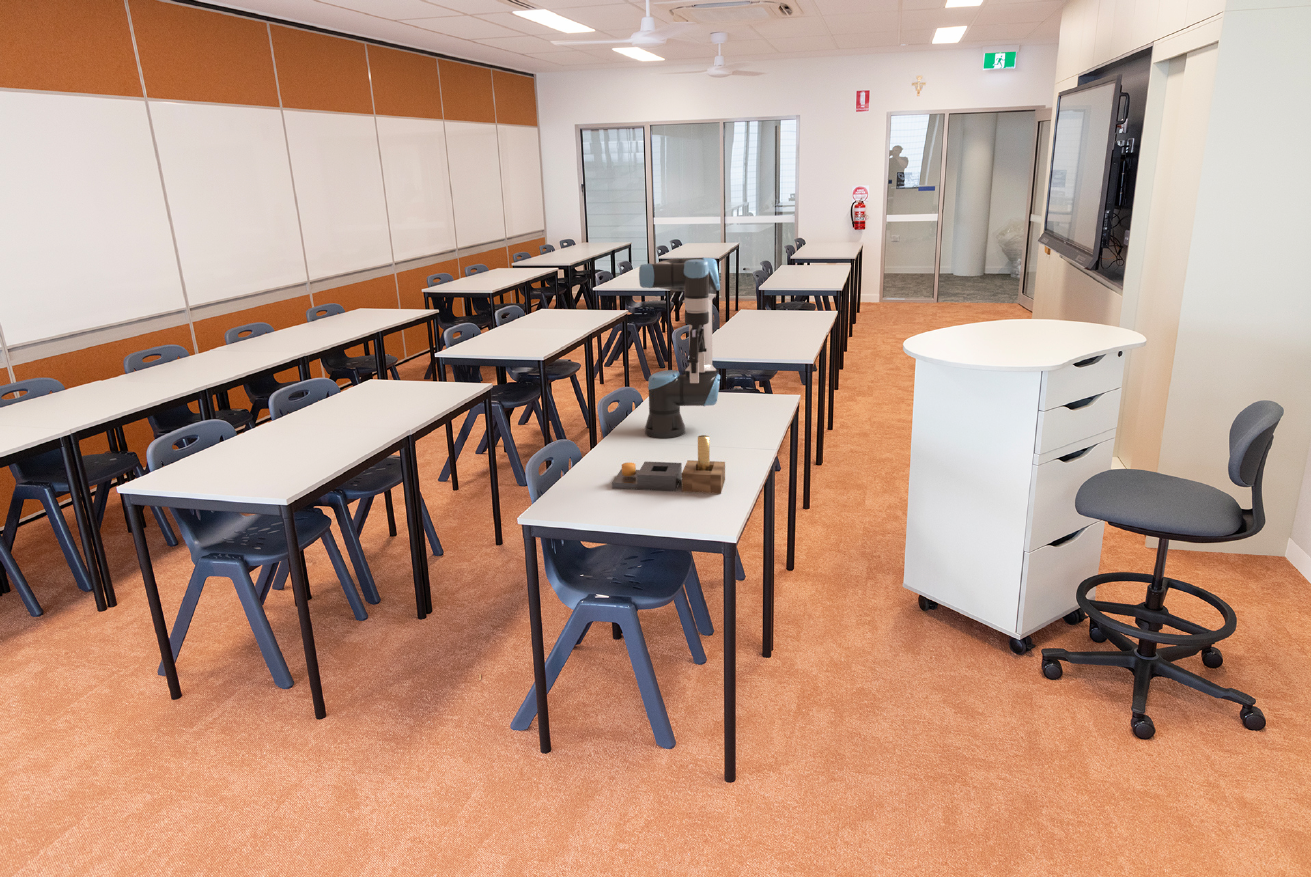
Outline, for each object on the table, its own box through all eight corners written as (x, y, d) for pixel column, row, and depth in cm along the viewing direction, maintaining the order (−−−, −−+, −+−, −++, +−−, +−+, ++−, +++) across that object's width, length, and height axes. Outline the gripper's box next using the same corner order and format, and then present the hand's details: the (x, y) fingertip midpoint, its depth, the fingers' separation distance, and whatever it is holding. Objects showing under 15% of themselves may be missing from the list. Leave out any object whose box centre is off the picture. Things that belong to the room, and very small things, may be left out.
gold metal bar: (699, 483, 250) (698, 435, 245) (710, 483, 250) (710, 435, 245) (697, 487, 247) (696, 438, 242) (708, 487, 246) (708, 439, 241)
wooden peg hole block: (687, 477, 255) (687, 460, 253) (725, 479, 253) (725, 461, 251) (681, 491, 244) (681, 473, 242) (720, 493, 242) (720, 475, 240)
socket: (621, 474, 259) (620, 460, 258) (681, 477, 256) (681, 462, 254) (612, 488, 248) (611, 473, 247) (675, 491, 244) (675, 476, 243)
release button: (623, 471, 254) (623, 462, 254) (637, 471, 254) (636, 462, 253) (620, 475, 250) (620, 466, 249) (634, 476, 250) (633, 467, 249)
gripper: (690, 304, 258) (691, 367, 265) (678, 318, 235) (679, 387, 242) (713, 304, 257) (713, 367, 264) (703, 318, 234) (704, 387, 241)
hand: (697, 377), depth 253 cm, fingers open, 13 cm apart
